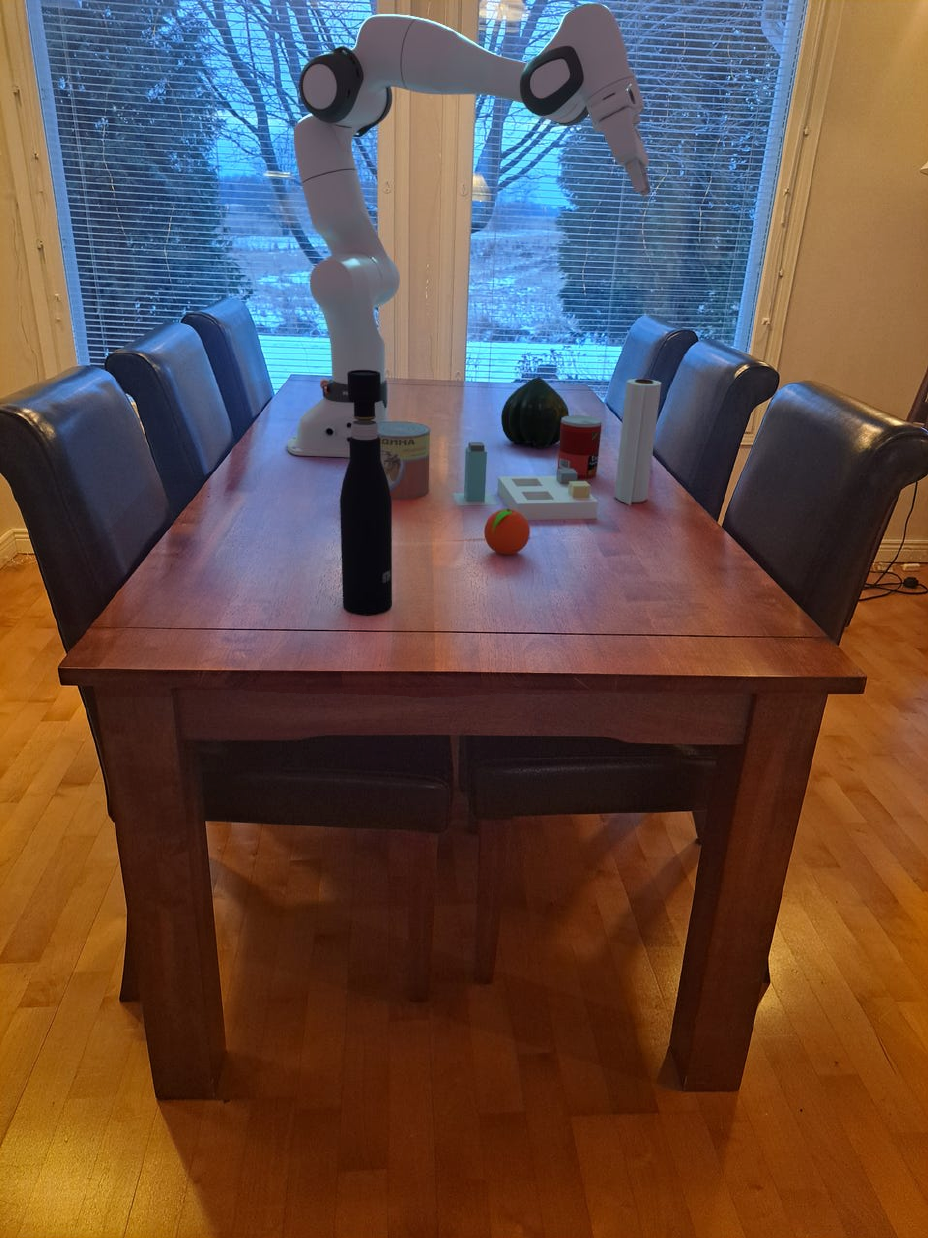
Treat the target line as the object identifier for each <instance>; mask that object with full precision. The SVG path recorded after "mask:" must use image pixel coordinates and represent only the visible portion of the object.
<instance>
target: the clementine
mask: <svg viewBox="0 0 928 1238" xmlns="http://www.w3.org/2000/svg"><path fill="white" fill-rule="evenodd" d="M483 532H484V539H485V542H486V544H487V545H488V546H489V548H490V549H491V550H492V551H493V552H495V553H497V554H498V555H499V554H500V555H505V556H506V555H507V556H508V555H515V554H516V553H518V552H520V551H521V550H523V549H524V547H525V546H527V544H528V543H529V539H530V535H531V528H530V526H529V523H528V520H526V519H525V517H524V516H523V515H522V514H520V513H519V512H517V511H515V510H512V509H508V508H503V509H500V510H498V511H495V512H494V513H493V514H491V515H490V517H489V518H488V519H487V521H486V523H485V526H484V531H483Z"/></svg>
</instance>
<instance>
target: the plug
mask: <svg viewBox="0 0 928 1238" xmlns="http://www.w3.org/2000/svg"><path fill="white" fill-rule="evenodd" d="M467 445H468V446H466V447H465V458H464V459H465V461H464V462H465V463H464V485H463V486H464V491H463V493H464V497H465V499H466V501H467V502H485V493H486V483H487V482H486V481H487V480H486V479H487V458H488V451H487V450H486V448H485V443H483V441H468V443H467Z"/></svg>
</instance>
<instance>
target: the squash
mask: <svg viewBox="0 0 928 1238" xmlns="http://www.w3.org/2000/svg"><path fill="white" fill-rule="evenodd" d="M565 416H570V414H569V408H568V405H567V404H566V402H565V400H564V399H563V397H562V396H561V395H560V394H559V393H558V392H557V391H556V390H555V389H554V388H553V387H552V386H550V384H549V383H548V382H546V380H544V379H543V378H541V377H540V376H538V377H534V378H532V379H530V380H528V381H527V382H526V383H524V384H522V385H521V386H520V387H518V388H517V389H515V391H513V393H512V394H511V395H510V396H509V397H508V398H507V399H506V401H505V403H504V405H503V407H502V410H501V417H500V418H501V426H502V427H501V428H502V431H503V433H504V435H505V437H506V438H507V439H508V441H510V442H511V443H514V444H517V445H522V444H525V443H529V444H532V443H533V445H534V446H535V447H536V448H538V449H544V448H546V447H547V446H548V447H549V446H553V445H556V444H557V443H559V440H560V427H561V420H562V417H565Z"/></svg>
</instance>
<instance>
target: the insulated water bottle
mask: <svg viewBox="0 0 928 1238" xmlns="http://www.w3.org/2000/svg"><path fill="white" fill-rule="evenodd" d="M347 380H348V401H350V402H354V415H353V417H354V418H355V419H358V420H355V421H353V422H352V425H351V428H352V431H351V434H352V436H351V437H350V438H349V447H350V457H349V462H348V464H347V468H346V470H345V474H344V476H343V481H342V485H341V492H340V499H339V510H340V513H339V514H340V549H341V578H342V579H341V582H342V583H341V585H342V606H343V609H345V611H347V612H349V613H351V614H353V615H354V614H355V615H358V616H376V615H380V614H384V613H385V612H387V611H389V610H391V609H392V607H393V559H392V557H393V551H392V550H393V547H392V546H393V538H392V537H393V530H392V529H393V527H392V526H393V521H392V520H393V519H392V517H393V513H392V511H393V510H392V509H393V508H392V507H393V505H392V504H393V503H392V501H393V500H391V494H390V489H389V484H388V480H387V477H386V474H385V471H384V468H383V465H382V462H381V439H380V437H378V436H377V435H378V434H379V432H378V431H377V429H378V428H379V426H378V425H377V422H376V421H373V420H372V419H374V418H375V417H376V415H375V403H376V402H379V401H380V400H381V397H380V396H381V379H380V373H379V372H377V371H373V370H353V371H349V372H348V373H347Z"/></svg>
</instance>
